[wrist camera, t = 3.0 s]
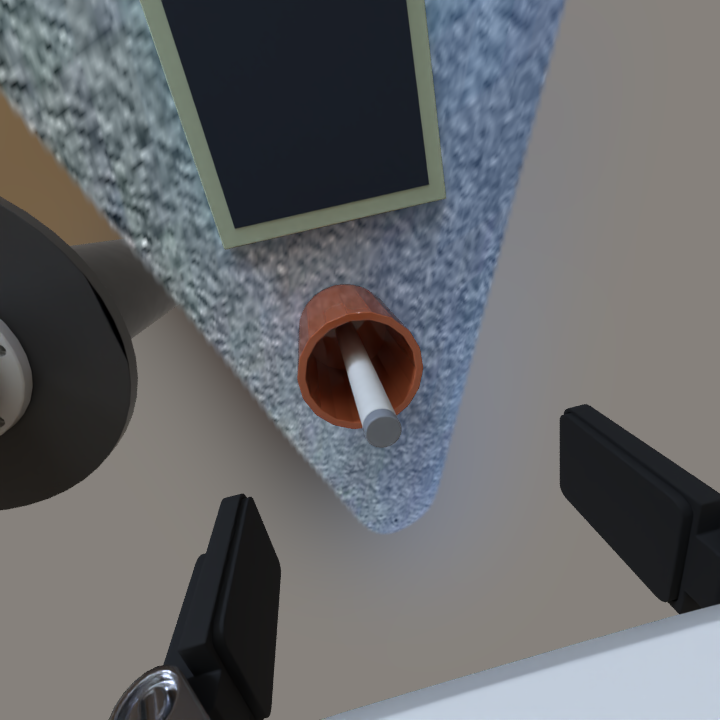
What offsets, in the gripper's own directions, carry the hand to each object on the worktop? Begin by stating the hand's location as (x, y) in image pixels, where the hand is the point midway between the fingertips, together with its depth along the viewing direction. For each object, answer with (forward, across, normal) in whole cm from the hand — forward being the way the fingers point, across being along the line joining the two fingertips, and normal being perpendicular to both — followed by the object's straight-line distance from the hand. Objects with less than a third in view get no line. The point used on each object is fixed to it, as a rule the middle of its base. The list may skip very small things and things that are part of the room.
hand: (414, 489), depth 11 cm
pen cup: (+17, 0, 0) cm, 17 cm away
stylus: (+16, 0, 0) cm, 16 cm away
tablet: (+17, 0, -16) cm, 23 cm away
